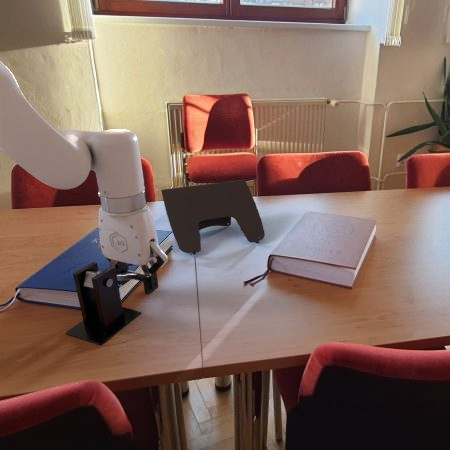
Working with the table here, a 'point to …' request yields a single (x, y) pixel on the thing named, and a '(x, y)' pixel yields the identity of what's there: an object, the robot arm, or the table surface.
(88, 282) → the lever
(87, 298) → the bracket
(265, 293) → the table surface
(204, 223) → the laptop tray
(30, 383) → the table surface
